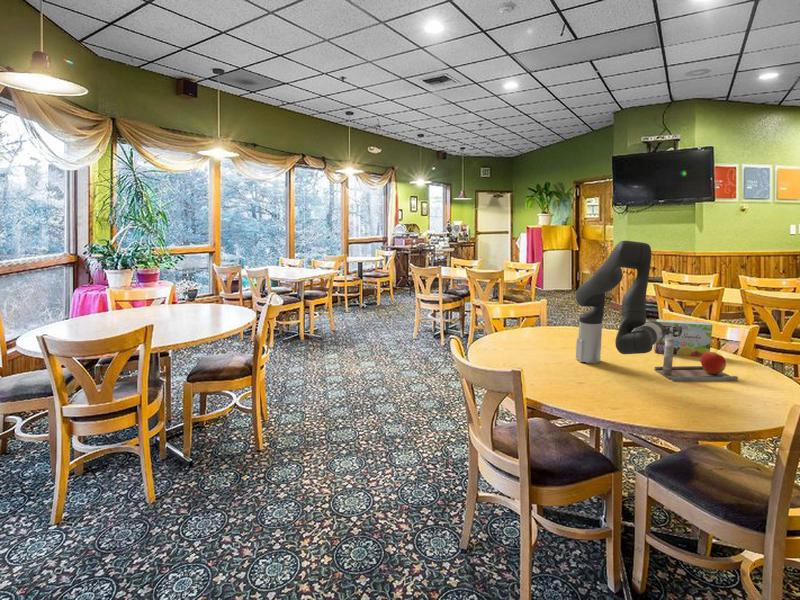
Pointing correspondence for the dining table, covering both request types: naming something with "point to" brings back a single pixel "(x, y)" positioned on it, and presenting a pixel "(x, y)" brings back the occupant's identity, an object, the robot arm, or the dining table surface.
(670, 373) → the board with upright post
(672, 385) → the dining table surface
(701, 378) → the lane rails
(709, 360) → the apple
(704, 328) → the snack box
